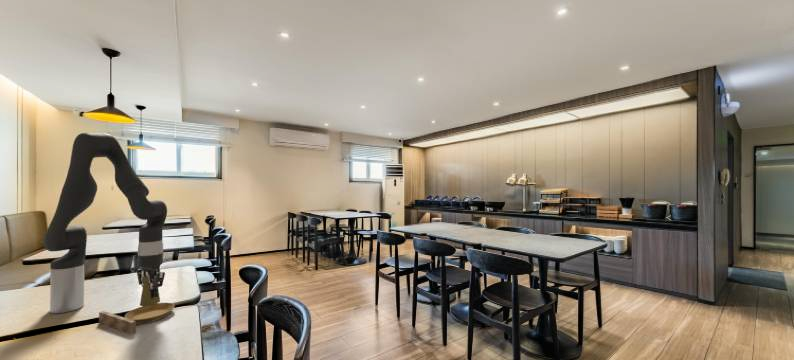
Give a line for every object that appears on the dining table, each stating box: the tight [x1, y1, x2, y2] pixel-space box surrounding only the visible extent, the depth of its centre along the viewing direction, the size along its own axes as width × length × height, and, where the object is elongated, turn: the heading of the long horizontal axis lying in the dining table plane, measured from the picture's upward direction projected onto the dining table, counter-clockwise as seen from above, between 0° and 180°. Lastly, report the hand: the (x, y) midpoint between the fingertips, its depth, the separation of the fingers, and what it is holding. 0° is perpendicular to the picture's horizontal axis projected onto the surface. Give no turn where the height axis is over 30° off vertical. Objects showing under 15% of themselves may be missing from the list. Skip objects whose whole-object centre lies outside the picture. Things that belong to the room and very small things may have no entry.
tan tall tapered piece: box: [139, 275, 161, 307], centre depth 115 cm, size 6×6×11 cm
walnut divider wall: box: [98, 310, 137, 335], centre depth 106 cm, size 20×1×4 cm, turn 68°
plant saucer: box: [124, 302, 175, 324], centre depth 115 cm, size 15×15×3 cm
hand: (150, 296), depth 115 cm, fingers closed on tan tall tapered piece, 4 cm apart
